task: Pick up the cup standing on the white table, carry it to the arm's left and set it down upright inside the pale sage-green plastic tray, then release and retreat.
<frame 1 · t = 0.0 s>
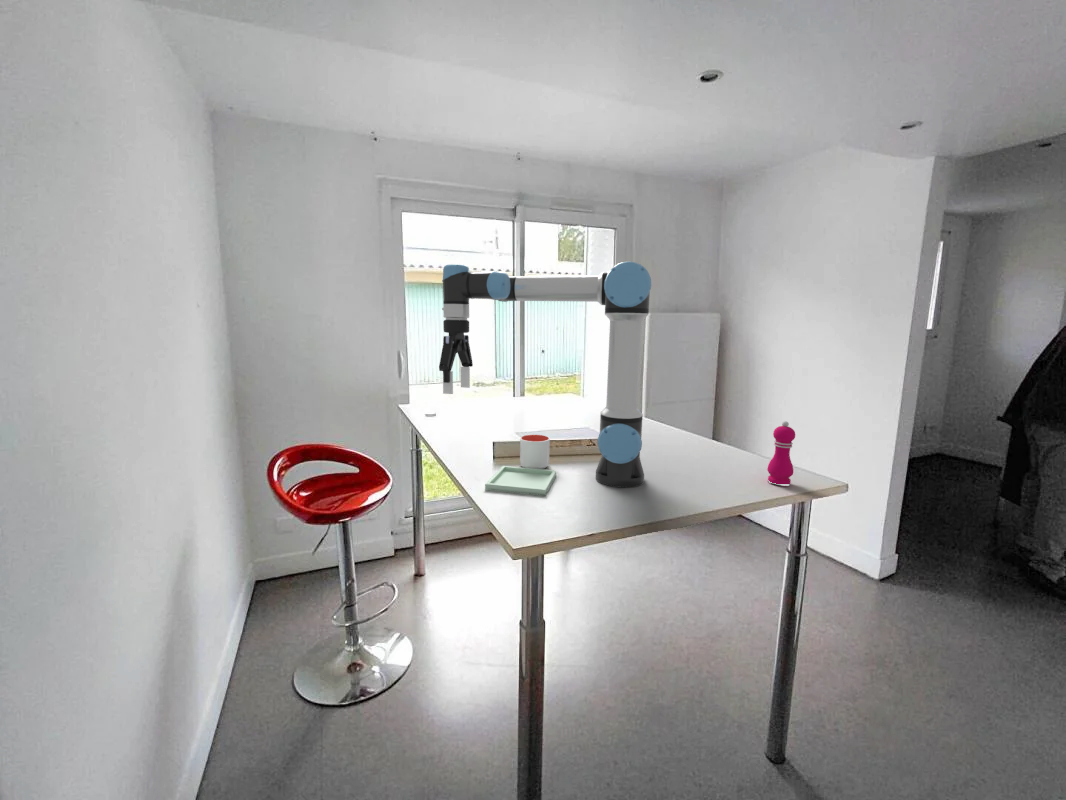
hand: (457, 390, 141), 28 cm above the table, fingers open, 13 cm apart
pepper mill: (778, 484, 146), on the table
cup: (534, 466, 159), on the table
tray: (522, 482, 143), on the table
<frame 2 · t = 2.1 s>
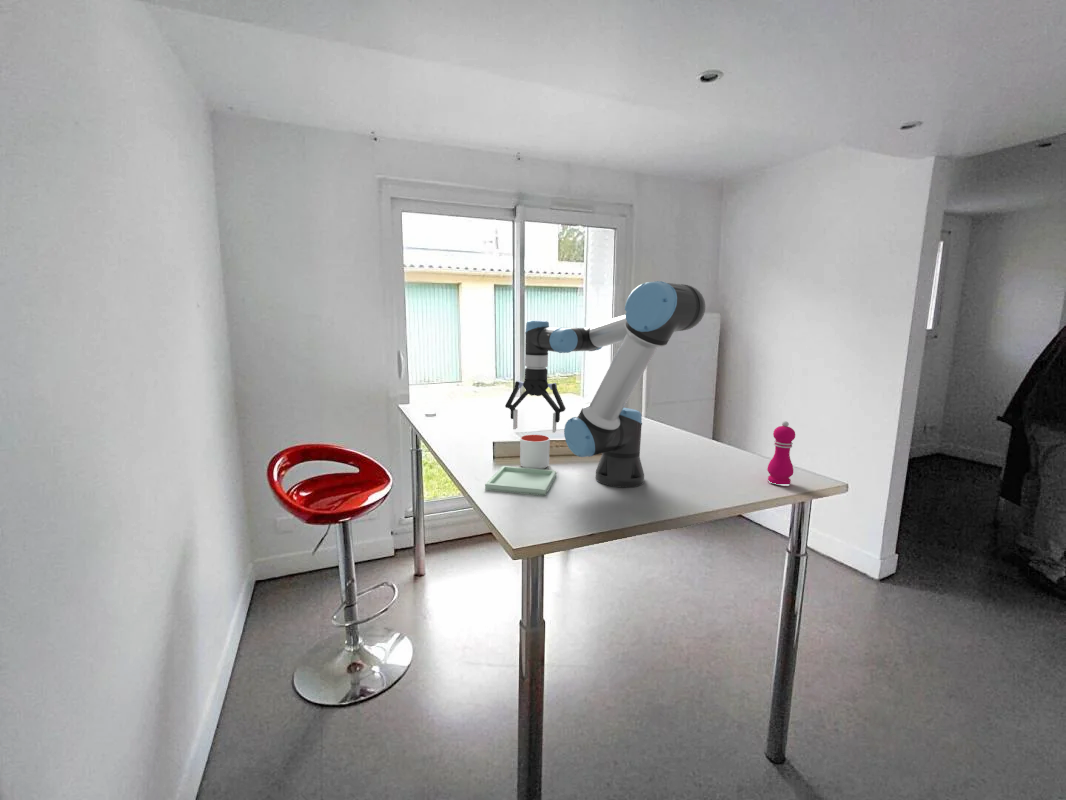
hand: (534, 430, 158), 13 cm above the table, fingers open, 13 cm apart
nothing on the table moved.
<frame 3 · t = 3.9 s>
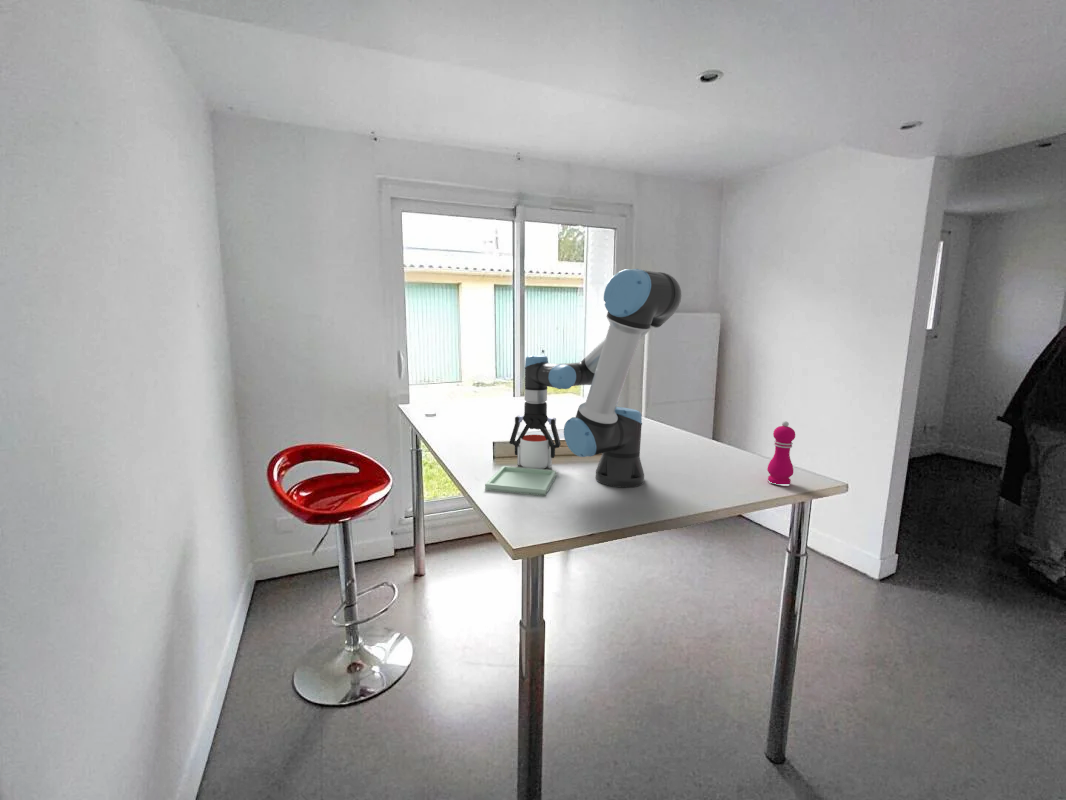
hand: (534, 465, 159), 0 cm above the table, fingers closed on cup, 10 cm apart
cup: (534, 466, 159), on the table, touching gripper
everything else where it was.
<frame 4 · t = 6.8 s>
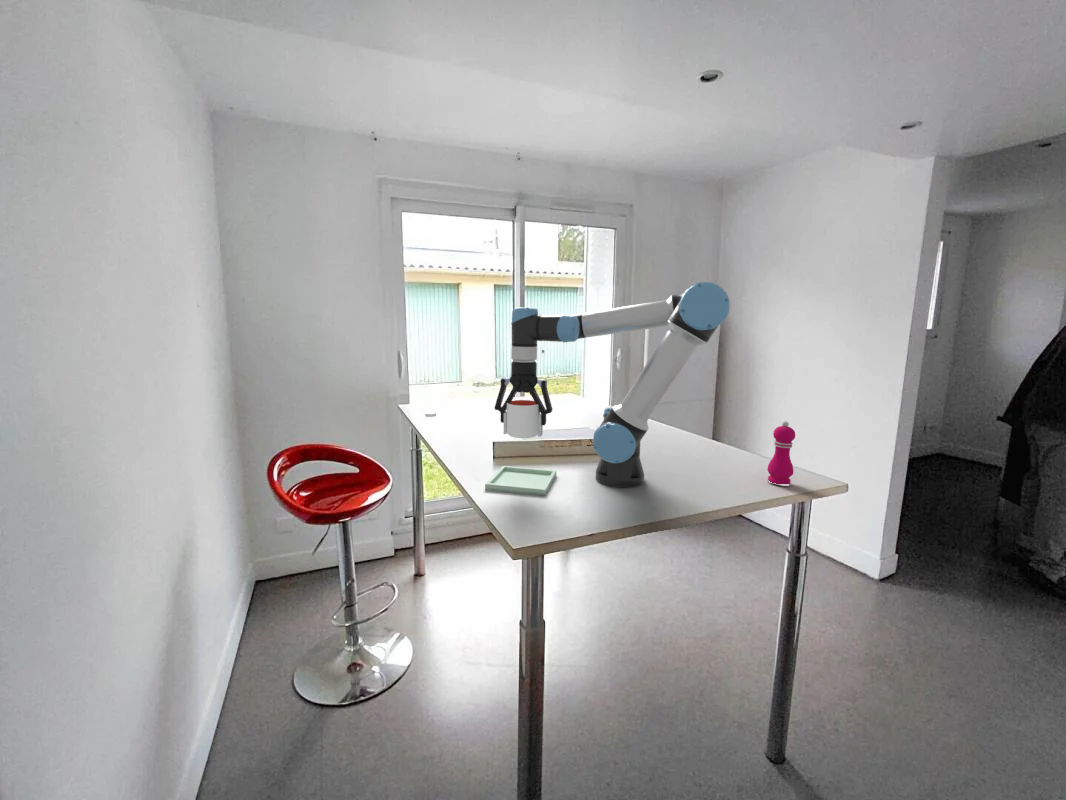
hand: (523, 434, 141), 15 cm above the table, fingers closed on cup, 10 cm apart
cup: (523, 435, 141), point 15 cm above the table, touching gripper
everything else where it was.
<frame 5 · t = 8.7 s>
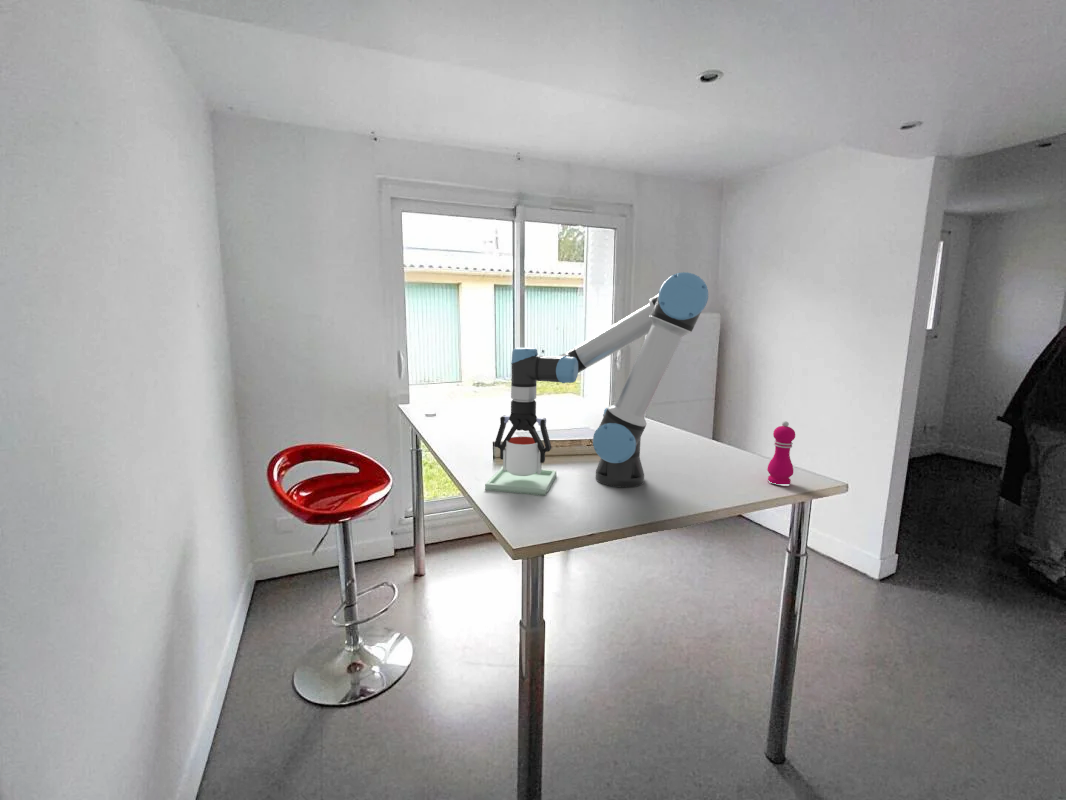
hand: (522, 471, 142), 4 cm above the table, fingers closed on cup, 10 cm apart
cup: (522, 472, 143), point 3 cm above the table, touching gripper
everything else where it was.
when the fingers open (2 cm above the table, at t = 10.0 s): cup drops 2 cm, resting on tray.
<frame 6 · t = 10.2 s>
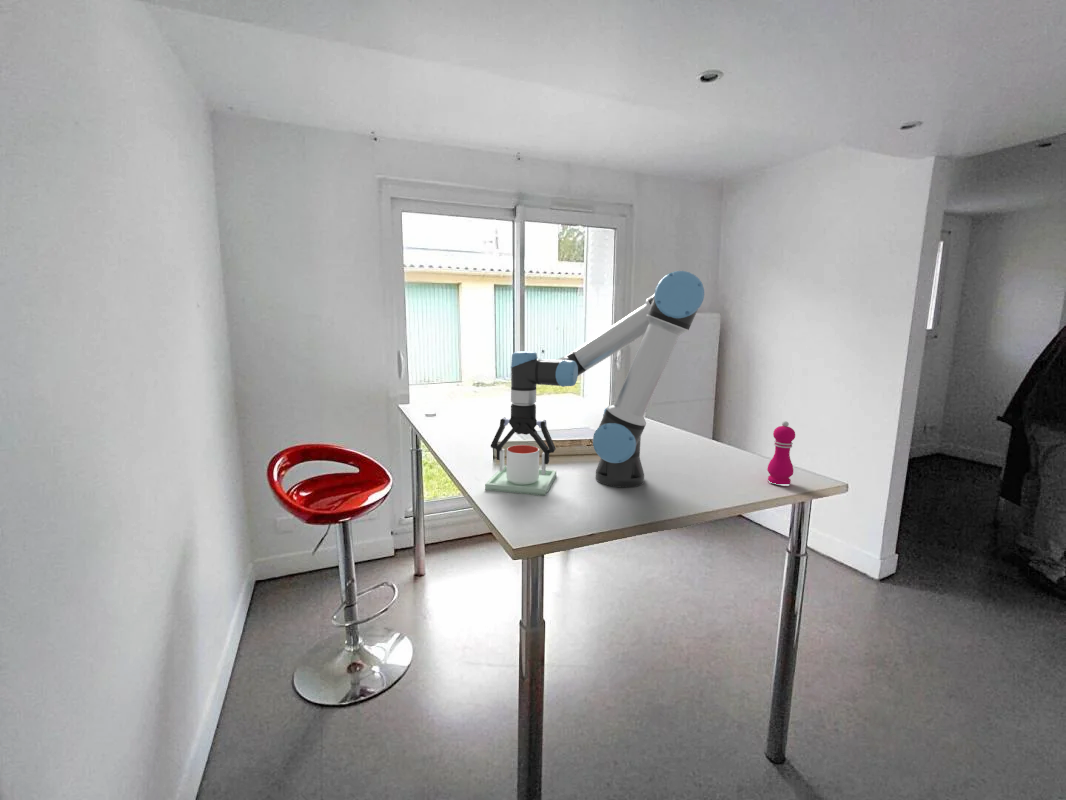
hand: (522, 472, 142), 3 cm above the table, fingers open, 12 cm apart
cup: (522, 481, 143), resting on tray
everything else where it was.
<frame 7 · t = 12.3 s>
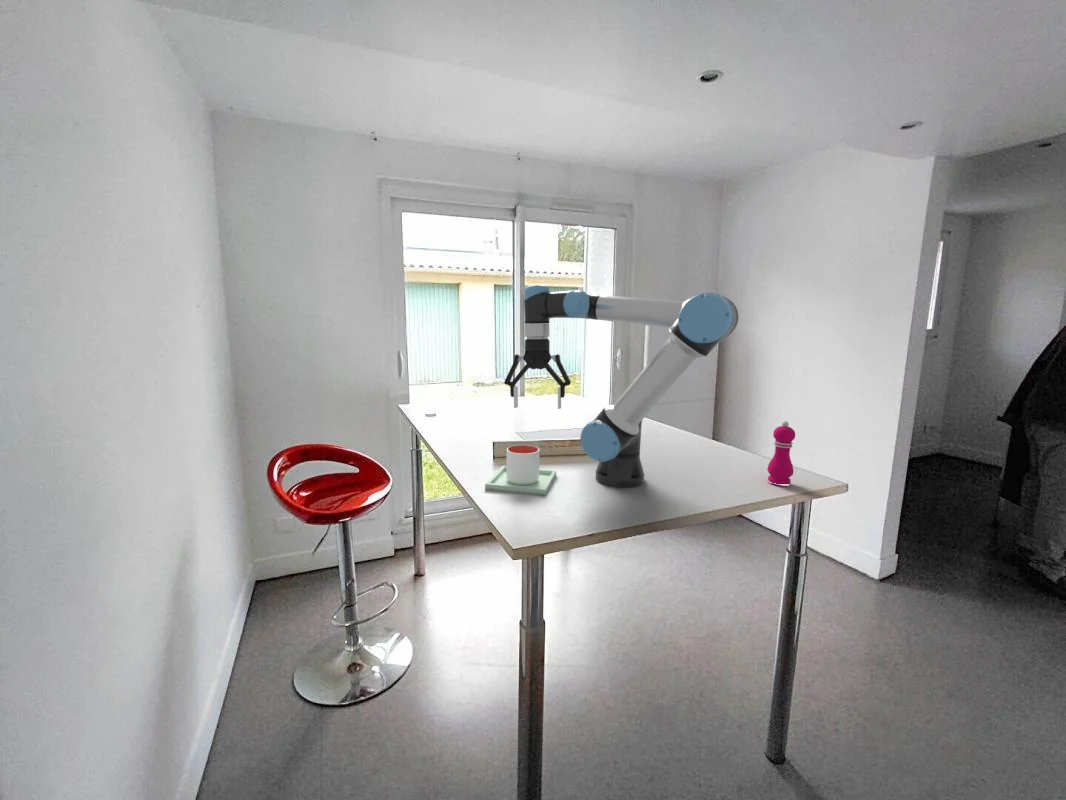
hand: (537, 407, 143), 23 cm above the table, fingers open, 13 cm apart
nothing on the table moved.
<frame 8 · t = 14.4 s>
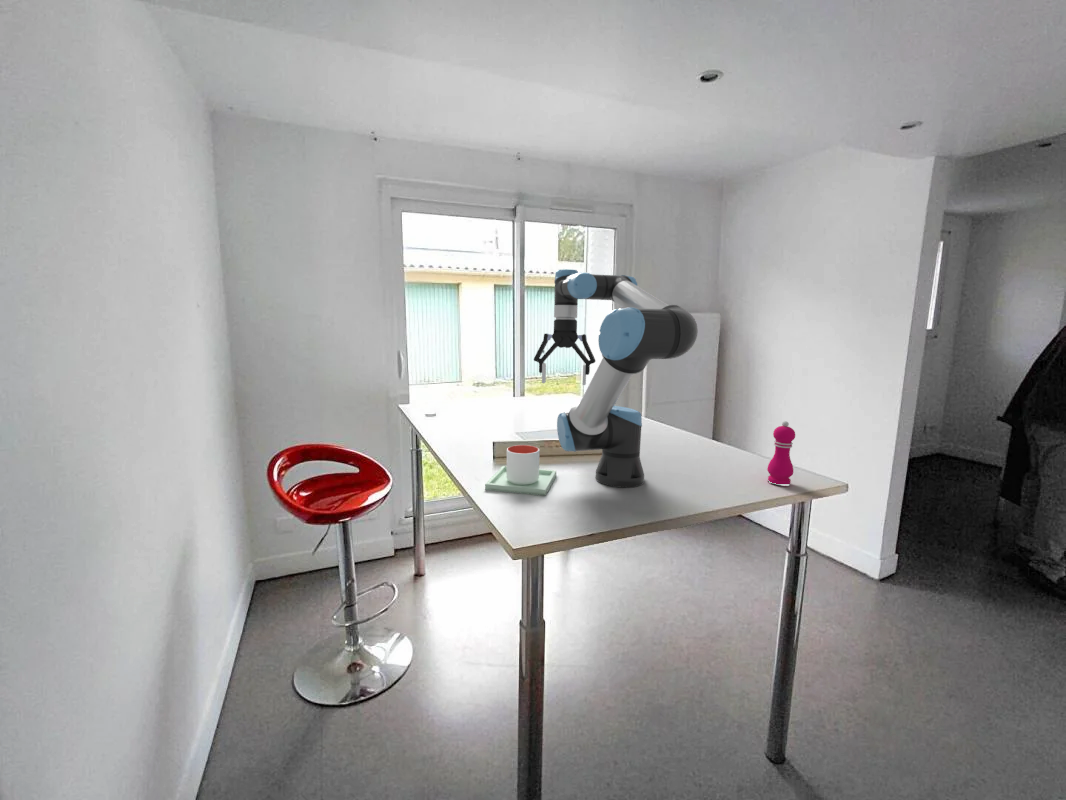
hand: (563, 383, 155), 29 cm above the table, fingers open, 13 cm apart
nothing on the table moved.
at the end: cup inside the target area on the tray (0.1 cm from its centre), point 0.4 cm above the tray's base; cup tilted 0°; the gripper is holding nothing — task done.
